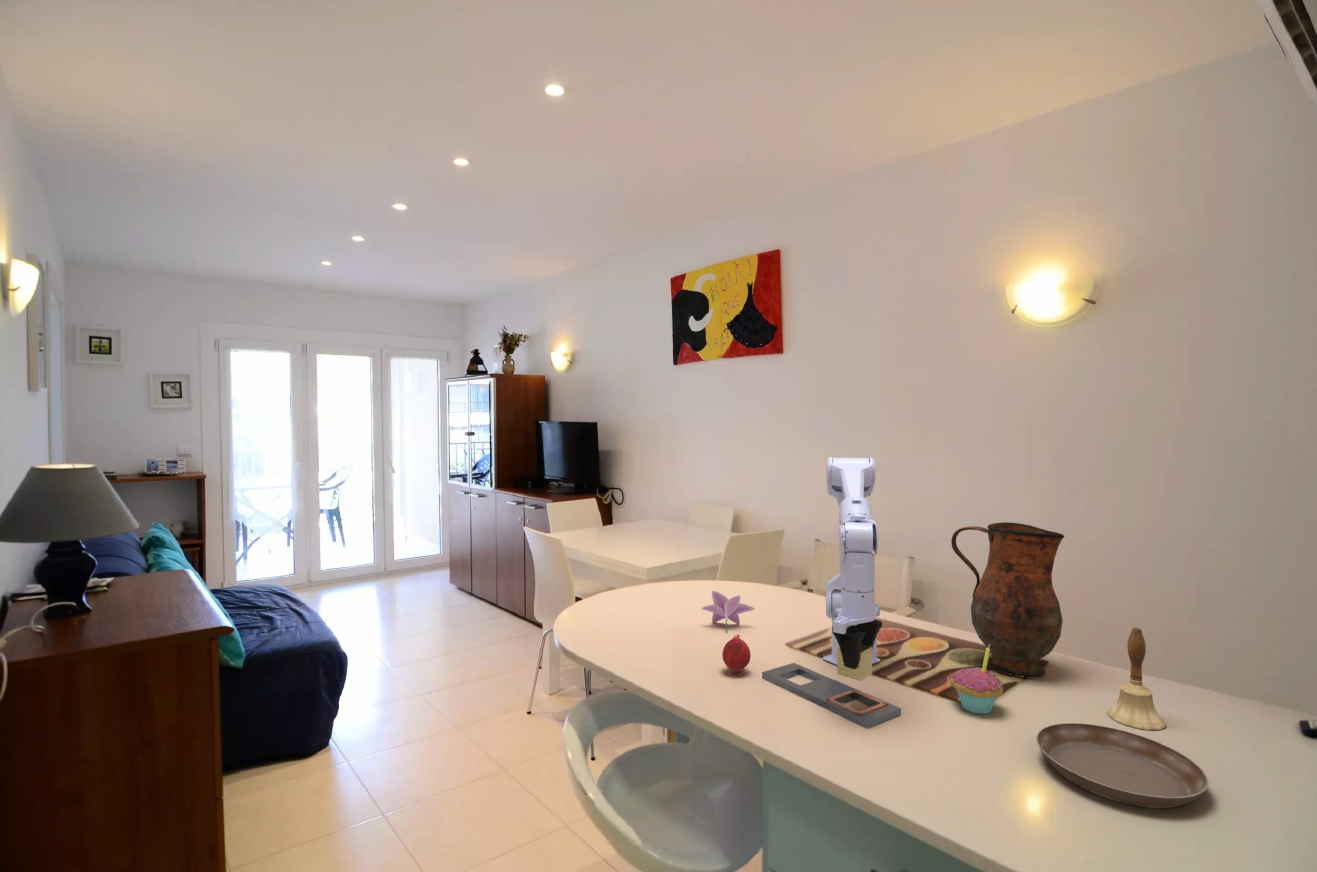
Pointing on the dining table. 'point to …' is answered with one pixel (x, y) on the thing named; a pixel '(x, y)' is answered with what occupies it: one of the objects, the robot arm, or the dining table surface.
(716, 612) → the lily
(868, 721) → the rail
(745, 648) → the pomegranate
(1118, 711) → the hand bell
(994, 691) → the cupcake
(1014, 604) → the pitcher
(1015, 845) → the dining table surface
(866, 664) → the brass cube with hole
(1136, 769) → the plant saucer
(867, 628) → the robot arm
